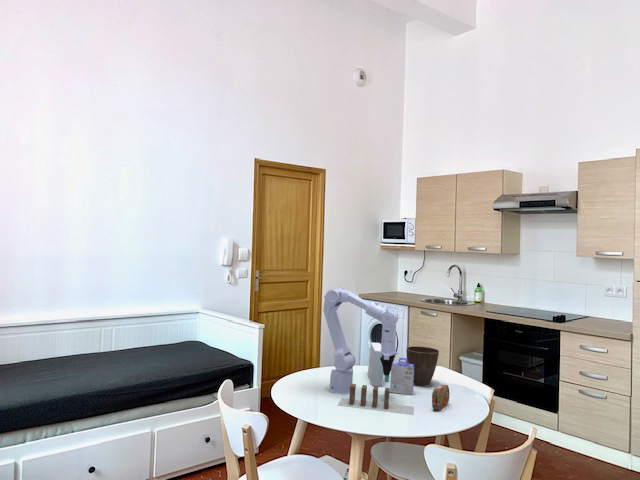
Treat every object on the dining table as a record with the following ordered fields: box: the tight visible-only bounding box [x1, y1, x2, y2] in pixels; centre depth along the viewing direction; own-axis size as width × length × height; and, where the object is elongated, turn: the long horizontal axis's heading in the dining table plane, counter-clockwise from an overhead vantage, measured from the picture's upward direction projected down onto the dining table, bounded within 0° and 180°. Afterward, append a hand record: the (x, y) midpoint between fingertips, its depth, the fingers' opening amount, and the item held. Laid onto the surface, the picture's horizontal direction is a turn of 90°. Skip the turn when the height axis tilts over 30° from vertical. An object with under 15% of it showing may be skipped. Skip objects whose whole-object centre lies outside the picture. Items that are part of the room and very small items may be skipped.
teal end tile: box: [383, 375, 390, 383], centre depth 202 cm, size 2×4×7 cm, turn 167°
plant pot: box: [406, 345, 440, 387], centre depth 228 cm, size 15×15×16 cm
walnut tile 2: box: [360, 384, 368, 406], centre depth 193 cm, size 2×4×7 cm, turn 167°
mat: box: [336, 397, 415, 416], centre depth 192 cm, size 29×10×1 cm, turn 77°
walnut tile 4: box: [383, 387, 391, 409], centre depth 191 cm, size 2×4×7 cm, turn 167°
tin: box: [431, 384, 450, 412], centre depth 195 cm, size 15×3×8 cm, turn 148°
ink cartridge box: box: [389, 357, 415, 396], centre depth 214 cm, size 10×6×14 cm, turn 78°
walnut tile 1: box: [348, 383, 357, 405], centre depth 194 cm, size 2×4×7 cm, turn 167°
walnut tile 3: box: [371, 386, 379, 408], centre depth 192 cm, size 2×4×7 cm, turn 167°
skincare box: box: [367, 342, 384, 387], centre depth 231 cm, size 21×5×16 cm, turn 179°
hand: (387, 373), depth 202 cm, fingers closed on teal end tile, 4 cm apart
